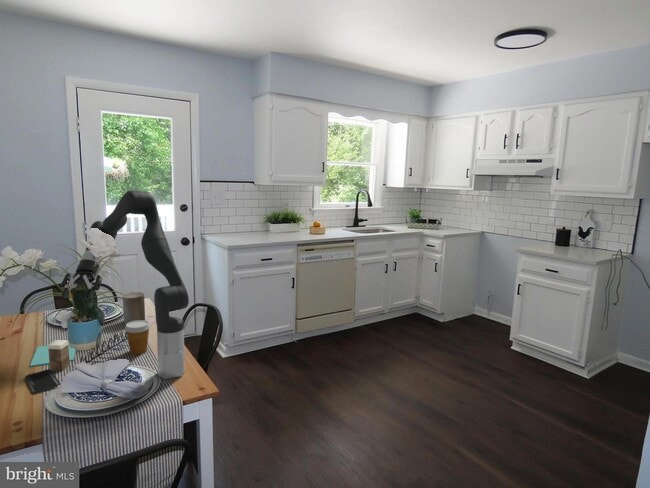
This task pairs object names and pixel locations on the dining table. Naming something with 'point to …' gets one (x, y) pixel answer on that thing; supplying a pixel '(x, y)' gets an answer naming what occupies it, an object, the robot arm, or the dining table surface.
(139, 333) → the disposable coffee cup
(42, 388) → the phone
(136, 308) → the pillar candle
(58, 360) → the walnut block
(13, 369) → the dining table surface
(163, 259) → the robot arm
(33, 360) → the teal mat
